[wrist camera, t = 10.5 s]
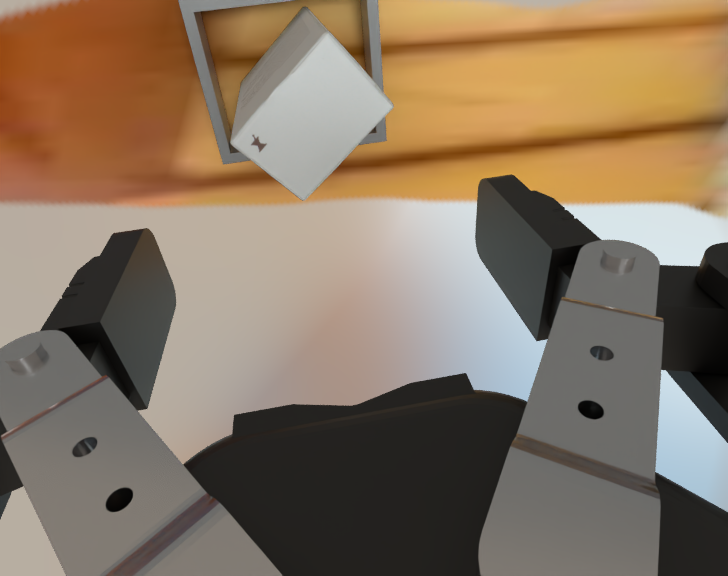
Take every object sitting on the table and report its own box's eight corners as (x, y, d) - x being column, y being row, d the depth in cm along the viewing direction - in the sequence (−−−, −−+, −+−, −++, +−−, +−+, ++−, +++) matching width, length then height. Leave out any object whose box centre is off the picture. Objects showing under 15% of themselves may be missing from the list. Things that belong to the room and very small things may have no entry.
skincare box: (292, 129, 31) (301, 207, 22) (239, 81, 29) (224, 144, 20) (356, 58, 30) (398, 107, 20) (305, 1, 27) (324, 25, 18)
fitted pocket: (368, -25, 27) (376, -23, 25) (379, 129, 32) (386, 140, 30) (185, -4, 26) (178, 0, 24) (226, 151, 31) (223, 164, 29)
